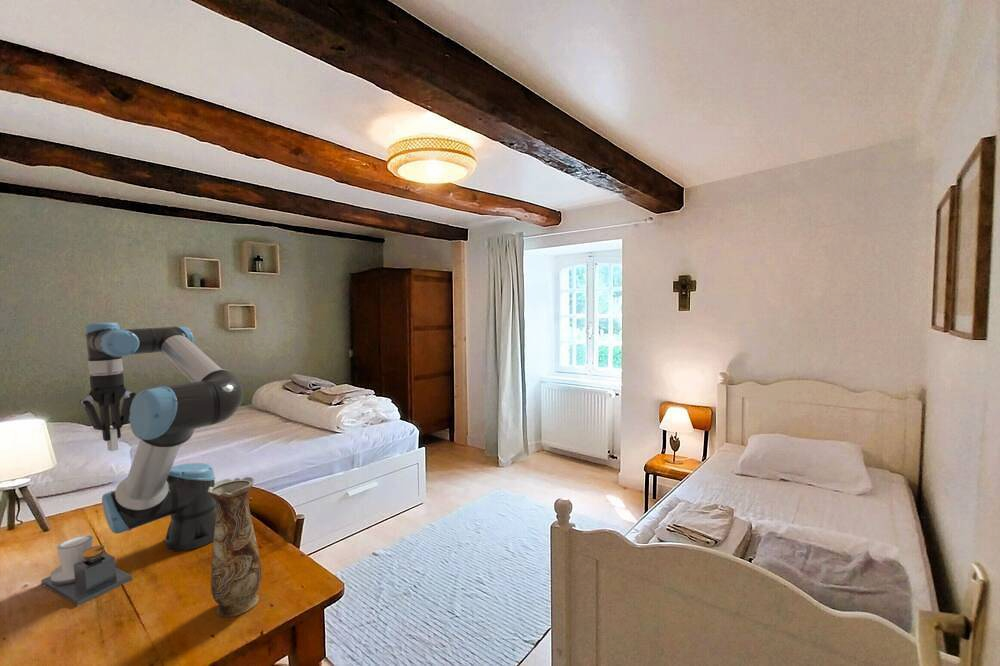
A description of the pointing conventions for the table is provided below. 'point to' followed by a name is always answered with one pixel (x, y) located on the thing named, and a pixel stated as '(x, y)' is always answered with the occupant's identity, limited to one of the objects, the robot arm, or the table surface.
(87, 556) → the gold capped peg
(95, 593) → the slotted base stand
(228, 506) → the vase
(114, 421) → the robot arm
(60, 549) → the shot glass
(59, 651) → the table surface
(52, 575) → the grey rounded flat piece
